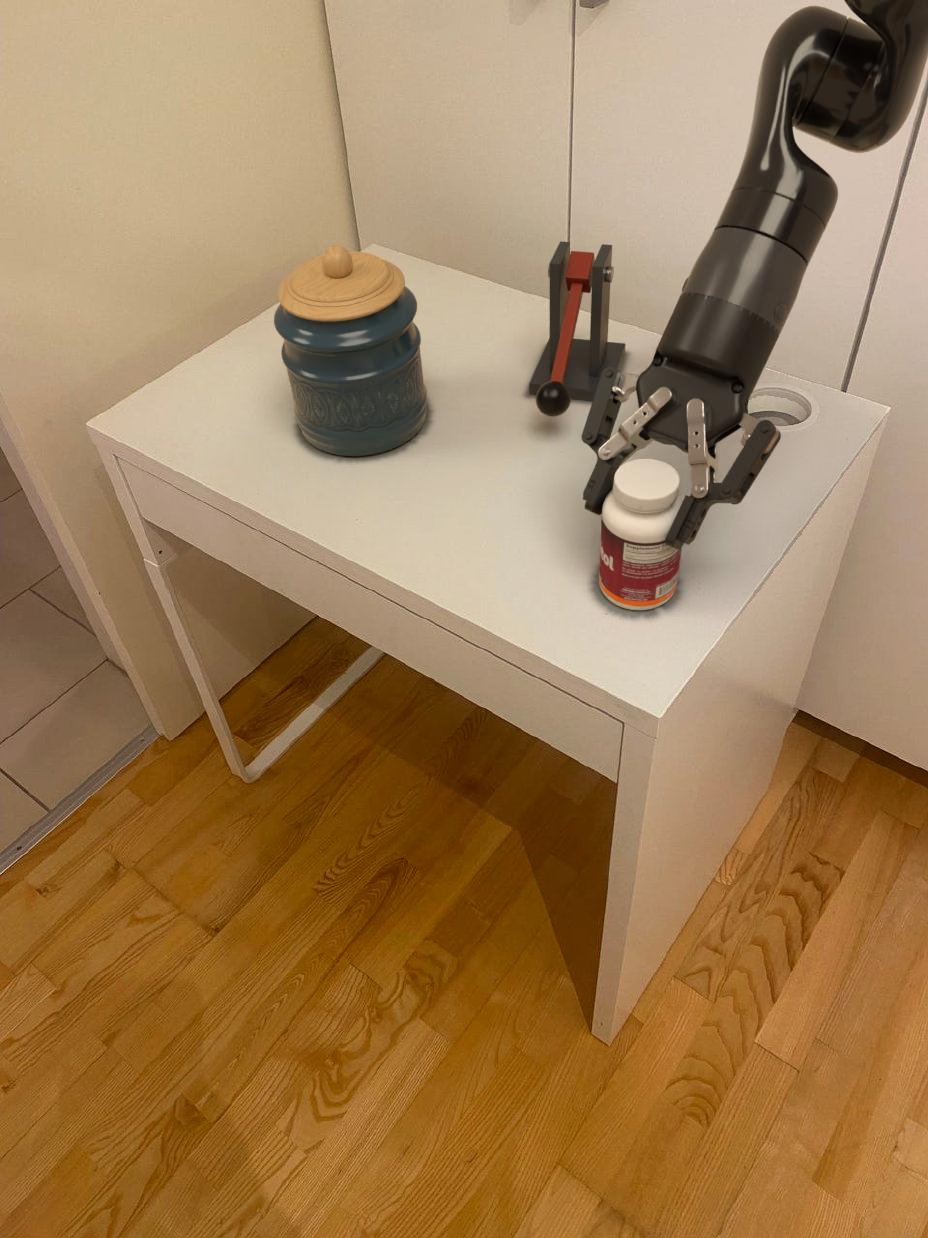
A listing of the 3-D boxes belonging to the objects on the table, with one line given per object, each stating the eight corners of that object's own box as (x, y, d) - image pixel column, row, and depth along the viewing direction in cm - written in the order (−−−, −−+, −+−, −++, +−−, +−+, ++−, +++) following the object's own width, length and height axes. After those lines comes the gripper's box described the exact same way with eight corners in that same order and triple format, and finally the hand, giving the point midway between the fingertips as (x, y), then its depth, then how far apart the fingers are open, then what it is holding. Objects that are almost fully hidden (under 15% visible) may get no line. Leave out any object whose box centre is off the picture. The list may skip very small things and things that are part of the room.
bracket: (608, 403, 94) (615, 280, 85) (529, 394, 96) (527, 273, 87) (624, 354, 100) (632, 234, 90) (550, 346, 102) (550, 228, 92)
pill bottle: (598, 557, 79) (604, 449, 71) (674, 560, 78) (689, 451, 70) (597, 612, 75) (602, 504, 67) (677, 615, 74) (693, 506, 66)
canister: (383, 368, 101) (359, 201, 88) (455, 422, 93) (440, 248, 80) (275, 416, 96) (233, 246, 83) (341, 477, 88) (306, 301, 76)
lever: (568, 424, 88) (565, 409, 85) (535, 420, 89) (530, 405, 86) (601, 269, 91) (599, 249, 88) (568, 267, 92) (565, 247, 89)
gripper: (836, 357, 68) (732, 573, 70) (658, 303, 74) (569, 502, 77) (818, 322, 61) (704, 562, 64) (626, 266, 68) (530, 485, 70)
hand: (631, 528), depth 70 cm, fingers closed on pill bottle, 6 cm apart
